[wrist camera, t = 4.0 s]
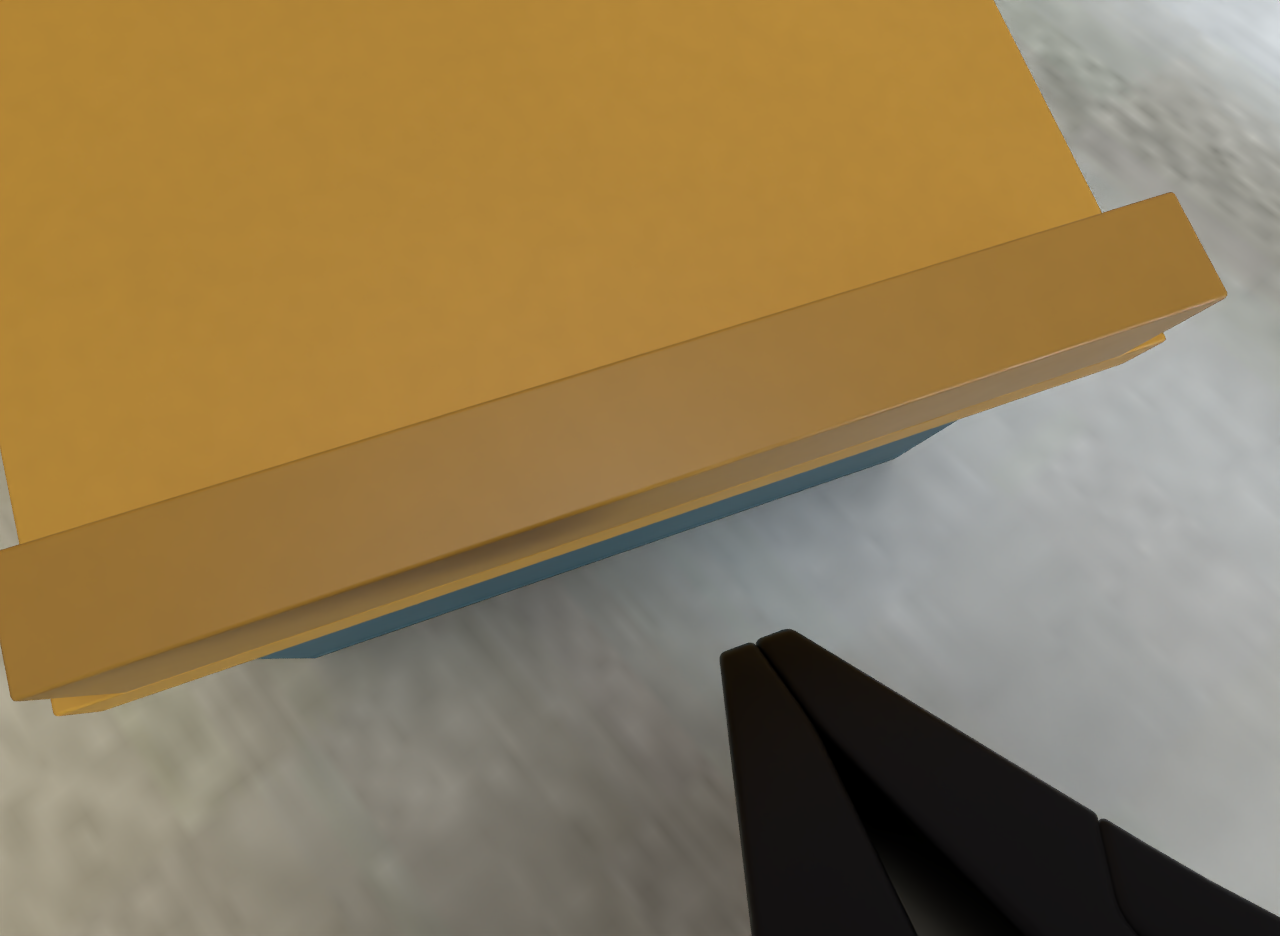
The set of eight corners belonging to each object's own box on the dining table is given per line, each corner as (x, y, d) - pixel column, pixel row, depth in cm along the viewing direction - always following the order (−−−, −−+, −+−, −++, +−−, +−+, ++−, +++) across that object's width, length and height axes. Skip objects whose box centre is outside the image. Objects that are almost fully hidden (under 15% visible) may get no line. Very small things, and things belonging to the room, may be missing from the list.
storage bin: (896, 458, 20) (1082, 344, 13) (312, 658, 18) (132, 661, 11) (719, 42, 23) (789, -256, 15) (184, 175, 20) (-38, -99, 13)
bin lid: (1123, 364, 13) (1285, 277, 10) (100, 712, 10) (-82, 734, 8) (804, -280, 15) (858, -498, 12) (-75, -116, 13) (-263, -340, 10)
